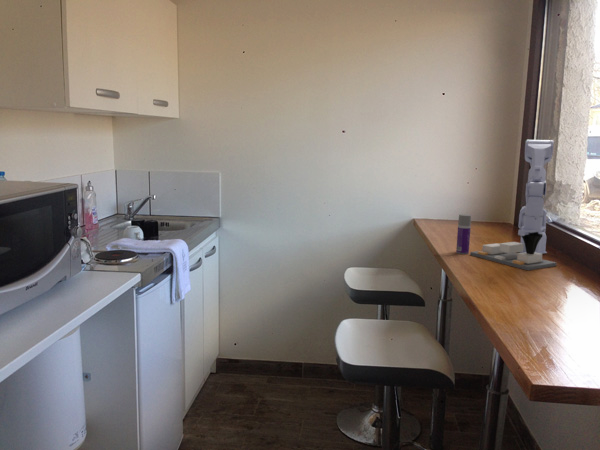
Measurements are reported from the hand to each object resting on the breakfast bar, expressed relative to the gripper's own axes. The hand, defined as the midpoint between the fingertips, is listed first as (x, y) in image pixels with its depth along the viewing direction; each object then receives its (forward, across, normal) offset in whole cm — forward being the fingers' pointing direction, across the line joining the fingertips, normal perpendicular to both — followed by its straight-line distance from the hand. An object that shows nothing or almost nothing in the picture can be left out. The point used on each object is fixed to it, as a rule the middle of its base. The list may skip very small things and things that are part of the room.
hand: (530, 253), depth 188 cm
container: (+4, +4, -26) cm, 26 cm away
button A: (+3, -2, -16) cm, 16 cm away
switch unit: (+4, -2, -8) cm, 9 cm away
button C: (+3, 0, 0) cm, 3 cm away
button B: (+1, -1, -8) cm, 8 cm away
